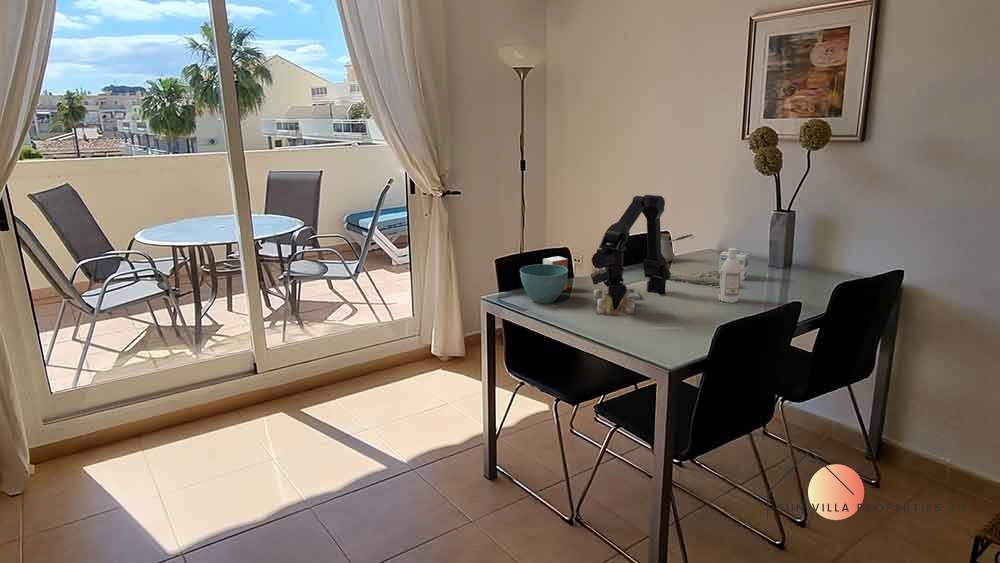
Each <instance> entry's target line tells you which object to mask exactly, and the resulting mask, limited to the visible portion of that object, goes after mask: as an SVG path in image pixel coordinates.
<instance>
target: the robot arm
mask: <svg viewBox="0 0 1000 563" xmlns="http://www.w3.org/2000/svg"><path fill="white" fill-rule="evenodd" d="M665 205H666V200H665V197H663V196H661V195H657V194H655V195H654V194H645V195H643V196H641V195H635V196H633V198H632V201H631V203H630V204H629V206H628V207H627V209H626V210H625V212H624V213H623V214H622V216H621V217H620V218H619V220H618V221H616V222H615V223H613V224H611V225H610V226H609V227H608V228H607V229H606V230H605V232H604V234H603V237H602V239H601V242H600V243H599V246H598V248H597V249H596V252H594V254H592V256H591V263H592V266H593V267H595V269H599V270H597V271H594V272H592V273H590V274H589V275H590V278H591V281H592V283H593V284H592V285H594V286H595V285H599V284H601V283H603V284H604V285H605V286H606V287H607V289H608V293H609V294H610V295H611V296H612V301H613V308H614V309H617V308H618V306H619V304H620V302H621V300H622V298H623V297H624V295H625V294H626V293H627V288H628V287H627V286H626V284H625V283H624V277H623V275H624V274H623V273H624V271H625V267H624V253H625V252H624V251H626V250H628V248H627V246H625V245H626V244H627V242H628V240H629V238H630V230H631V229H632V227H633V226H634V224H635V222H636V221H637V219H638V218H639V217H640V215H641V214H643V216H644V217H645V219H646V234H647V255H646V257H645V259H643V261H642V263H643V267H642V270H643V273H644V277H645V278H648V280H646V292H647V293H653V294H658V296H659V295H660V296H663V295H664V296H666V295H667V292H666V287H667V286H666V283H667V281H670V280H669V279H670V275H671V273H670V271H669V270H670V269H669V268H668V266H667V263H666V260H665V258H664V257H663V255H662V254H661V234H662V233H661V216H662V215H663V213H664V211H665Z"/></svg>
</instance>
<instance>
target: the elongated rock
mask: <svg viewBox="0 0 1000 563" xmlns="http://www.w3.org/2000/svg"><path fill="white" fill-rule="evenodd" d="M668 270H669V271H670V273H671V275H670V280H669V281H673V280H675V281H674V282H680V281H683V282H682V283H685V282H688V283H687V284H693V283H697V284H696V285H700V284H701V285H700V286H705V285H712V286H711V287H713V286H720V276H721V273H719V270H712V271H706V272H697V273H696V272H695V273H694V272H688V271H678V270H674V269H673V270H672V269H671V270H670V269H668Z"/></svg>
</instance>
